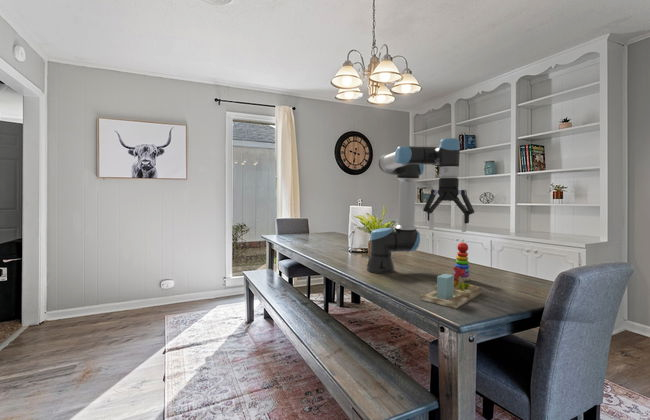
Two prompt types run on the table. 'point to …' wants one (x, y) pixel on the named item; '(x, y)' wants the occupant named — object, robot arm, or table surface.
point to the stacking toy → (463, 260)
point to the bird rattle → (458, 276)
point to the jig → (457, 298)
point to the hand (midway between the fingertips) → (447, 230)
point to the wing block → (445, 286)
